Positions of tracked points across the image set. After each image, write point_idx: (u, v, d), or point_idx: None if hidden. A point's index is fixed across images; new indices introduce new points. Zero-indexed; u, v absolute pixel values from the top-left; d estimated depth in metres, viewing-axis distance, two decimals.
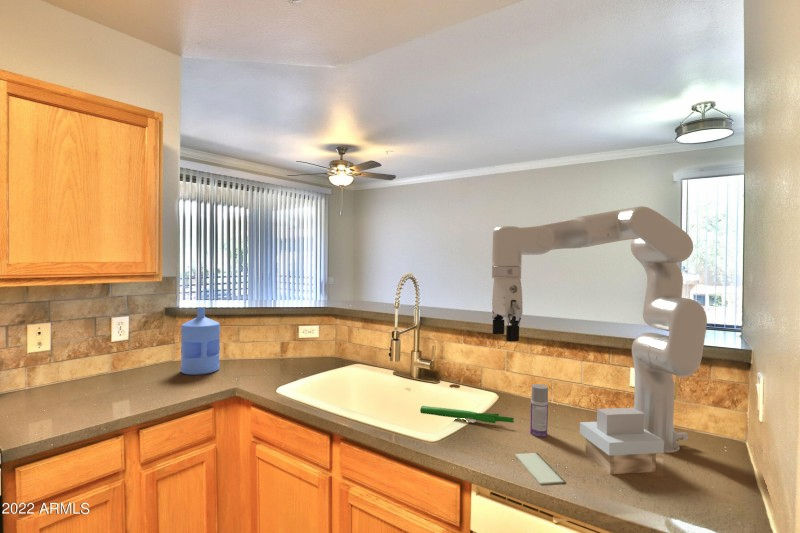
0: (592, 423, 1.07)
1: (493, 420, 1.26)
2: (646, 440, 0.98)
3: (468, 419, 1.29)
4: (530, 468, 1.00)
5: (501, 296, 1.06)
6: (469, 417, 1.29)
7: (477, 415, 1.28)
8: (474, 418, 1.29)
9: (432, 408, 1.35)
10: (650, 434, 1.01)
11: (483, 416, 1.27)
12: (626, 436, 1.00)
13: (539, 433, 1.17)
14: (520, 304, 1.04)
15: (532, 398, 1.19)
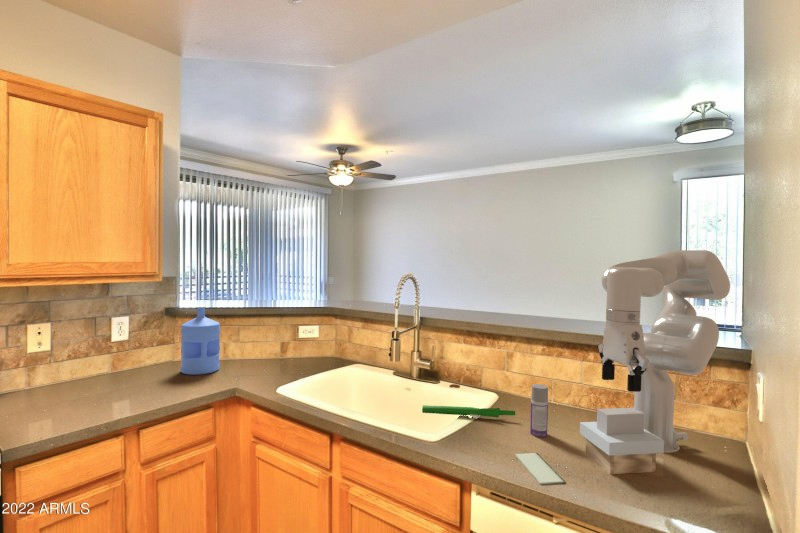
0: (592, 423, 1.07)
1: (497, 414, 1.30)
2: (646, 440, 0.98)
3: (471, 415, 1.33)
4: (530, 468, 1.00)
5: (620, 342, 0.99)
6: (472, 413, 1.33)
7: (480, 411, 1.32)
8: (477, 414, 1.33)
9: (434, 407, 1.36)
10: (650, 434, 1.01)
11: (486, 411, 1.32)
12: (626, 436, 1.00)
13: (539, 433, 1.17)
14: (642, 352, 0.98)
15: (532, 398, 1.19)
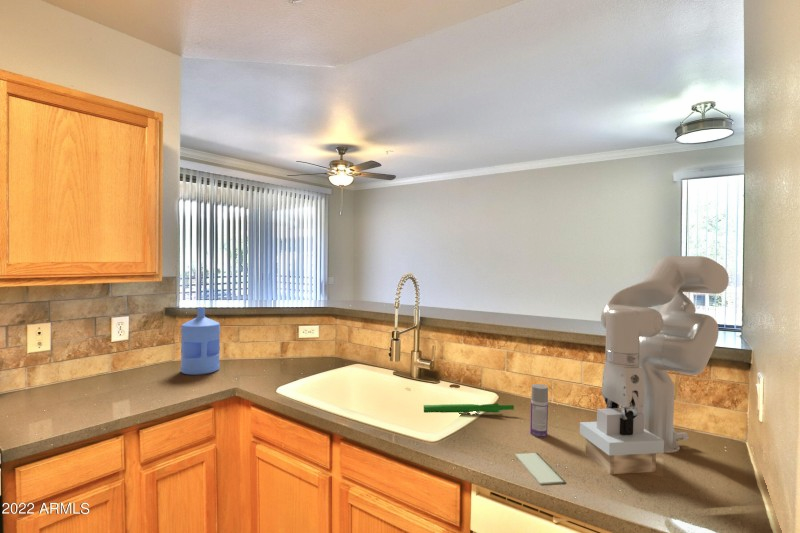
0: (592, 423, 1.07)
1: (497, 409, 1.35)
2: (646, 440, 0.98)
3: None
4: (530, 468, 1.00)
5: (620, 385, 1.00)
6: (473, 410, 1.36)
7: (481, 407, 1.36)
8: (478, 410, 1.36)
9: (435, 406, 1.37)
10: (650, 434, 1.01)
11: (487, 407, 1.35)
12: (626, 436, 1.00)
13: (539, 433, 1.17)
14: (641, 394, 0.98)
15: (532, 398, 1.19)
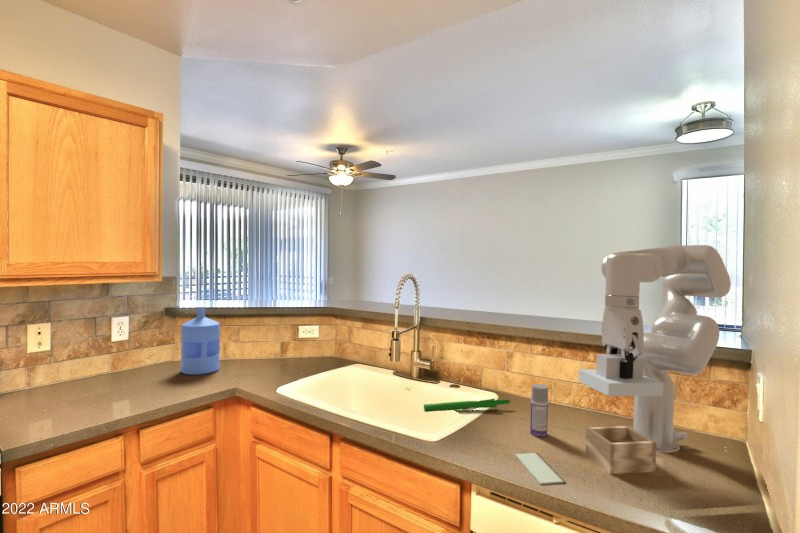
0: (591, 370, 1.07)
1: (495, 404, 1.39)
2: (645, 382, 0.97)
3: (472, 408, 1.39)
4: (530, 468, 1.00)
5: (620, 328, 0.99)
6: (472, 406, 1.39)
7: (480, 403, 1.40)
8: (477, 406, 1.39)
9: (436, 405, 1.38)
10: (649, 379, 1.01)
11: (485, 403, 1.39)
12: (625, 379, 0.99)
13: (539, 433, 1.17)
14: (641, 336, 0.98)
15: (532, 398, 1.19)
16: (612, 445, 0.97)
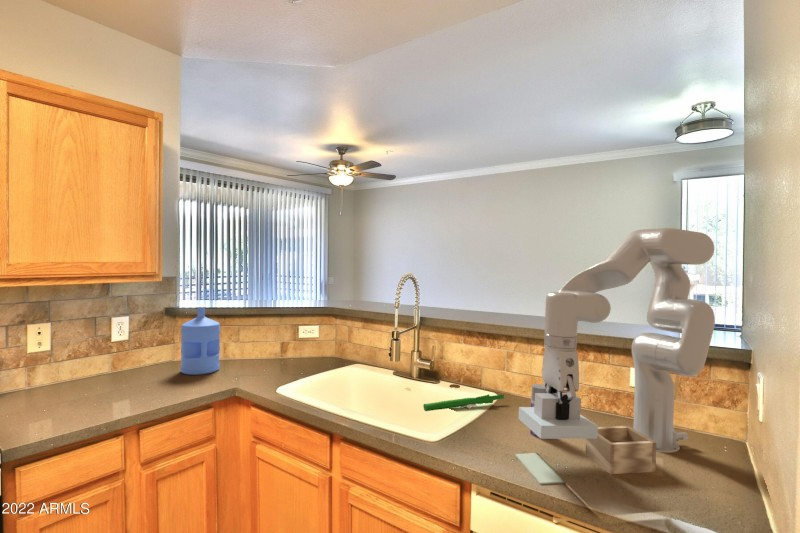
0: (531, 408, 1.06)
1: (491, 400, 1.44)
2: (580, 425, 0.96)
3: (470, 405, 1.42)
4: (530, 468, 1.00)
5: (556, 368, 0.98)
6: (470, 403, 1.42)
7: (477, 399, 1.43)
8: (474, 403, 1.43)
9: (436, 403, 1.39)
10: (586, 420, 1.00)
11: (482, 399, 1.43)
12: (561, 421, 0.98)
13: None
14: (577, 378, 0.97)
15: (532, 398, 1.19)
16: (612, 445, 0.97)
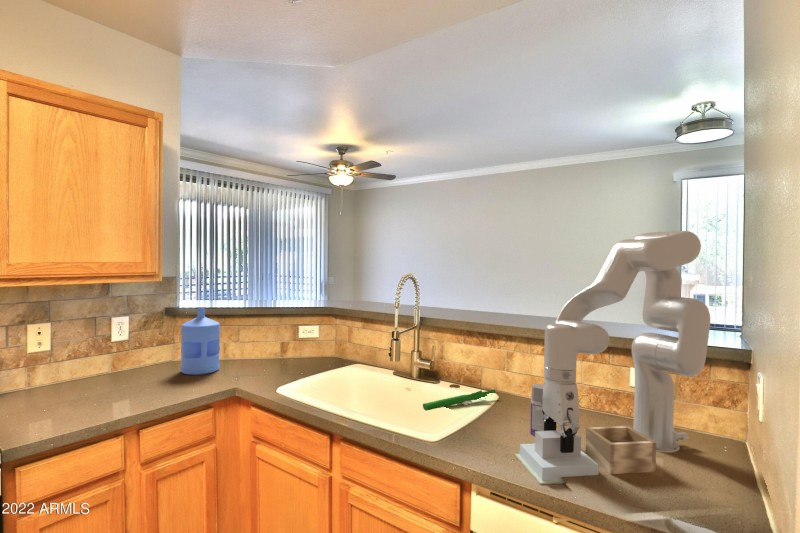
0: (532, 445, 1.06)
1: None
2: (580, 464, 0.97)
3: (467, 402, 1.45)
4: (530, 468, 1.00)
5: (556, 402, 0.99)
6: (467, 400, 1.46)
7: (472, 396, 1.47)
8: (470, 399, 1.46)
9: (435, 402, 1.41)
10: (587, 457, 1.00)
11: (477, 395, 1.47)
12: (562, 460, 0.99)
13: None
14: (577, 412, 0.97)
15: (532, 398, 1.19)
16: (612, 445, 0.97)
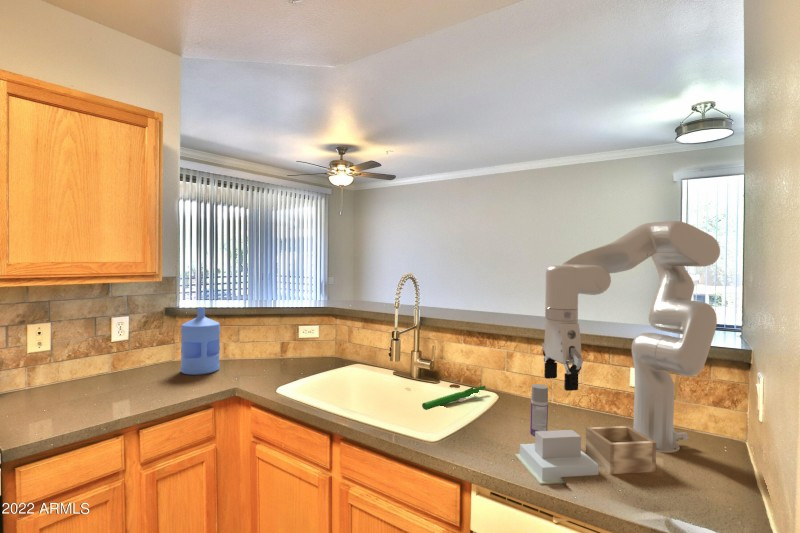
0: (532, 445, 1.06)
1: None
2: (580, 464, 0.97)
3: (462, 399, 1.48)
4: (530, 468, 1.00)
5: (557, 341, 0.99)
6: (462, 397, 1.49)
7: (467, 393, 1.50)
8: (465, 396, 1.50)
9: (434, 401, 1.42)
10: (587, 457, 1.00)
11: (471, 392, 1.51)
12: (562, 460, 0.99)
13: None
14: (579, 350, 0.97)
15: (532, 398, 1.19)
16: (612, 445, 0.97)
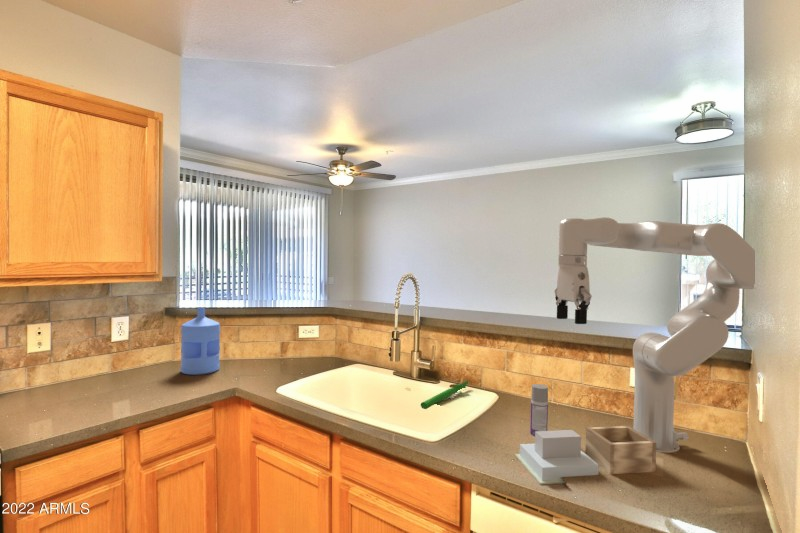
0: (532, 445, 1.06)
1: (465, 387, 1.58)
2: (580, 464, 0.97)
3: (453, 395, 1.52)
4: (530, 468, 1.00)
5: (569, 283, 1.15)
6: (452, 393, 1.53)
7: (456, 389, 1.55)
8: (455, 392, 1.54)
9: (432, 399, 1.43)
10: (587, 457, 1.00)
11: (459, 387, 1.56)
12: (562, 460, 0.99)
13: None
14: (587, 289, 1.13)
15: (532, 398, 1.19)
16: (612, 445, 0.97)
